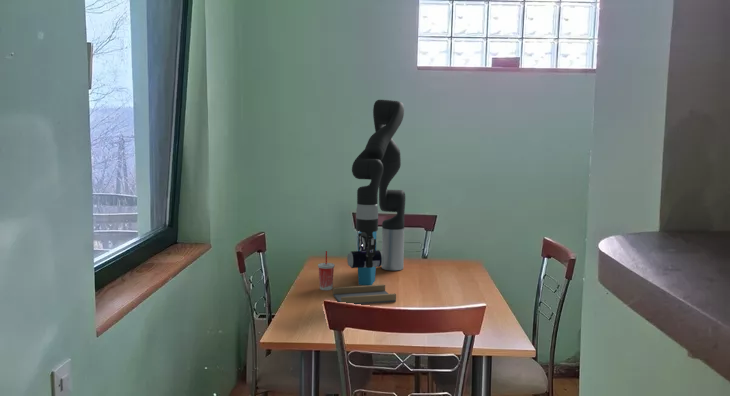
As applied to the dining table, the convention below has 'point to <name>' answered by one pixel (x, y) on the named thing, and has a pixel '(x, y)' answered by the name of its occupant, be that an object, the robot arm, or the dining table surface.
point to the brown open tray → (363, 294)
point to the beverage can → (364, 259)
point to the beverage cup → (326, 275)
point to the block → (366, 272)
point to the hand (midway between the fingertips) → (366, 265)
